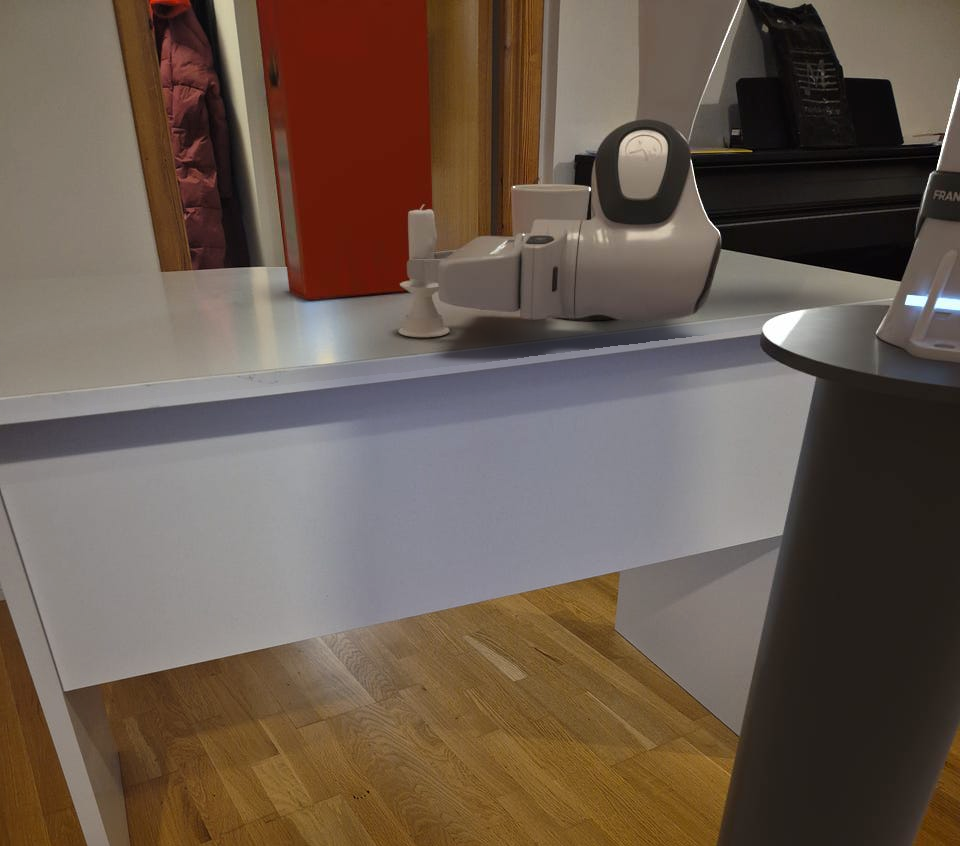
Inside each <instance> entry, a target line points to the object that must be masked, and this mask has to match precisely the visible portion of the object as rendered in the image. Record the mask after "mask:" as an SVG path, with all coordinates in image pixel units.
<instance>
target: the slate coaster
mask: <svg viewBox="0 0 960 846" xmlns="http://www.w3.org/2000/svg"><path fill="white" fill-rule="evenodd" d="M554 318H555V319H560V320H567V321H568V320H569V321H581V322H596V321H608V320H614V319H615V318H612V317H609V316H605V315H591V316H587V317H583V318H560V317H554Z"/></svg>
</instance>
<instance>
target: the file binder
mask: <svg viewBox="0 0 960 846" xmlns="http://www.w3.org/2000/svg"><path fill="white" fill-rule="evenodd" d="M255 3H256V12H257V20H258V29H259V38H260V47H261V55H262V64H263V65H262V66H263V73H264V81H265V82H264V83H265V90H266V99H267V100H266V101H267V108H268V117H269V125H270V135H271V144H272V152H273V161H274V169H275V178H276V186H277V195H278V203H279V212H280V220H281V230H282V231H281V232H282V238H283V245H284V246H283V247H284V255H285V263H286V273H287V283H288V290H289V292H290V293H292V294H294V295H296V296H298V297H300V298H302V299H304V300H306V301H312V300H323V299H334V298H335V299H336V298H346V297H358V296H369V295H380V294H390V293H399V292H401V293H402V292H408V291H407V290H406V289H405V288H403V287H401V286H400V283H402V282H405V281H410V278H409V277H408V275H407V262H408V260H409V236H408V213H409V211H414V210H420V208H421V207H422V205H424V204H425V205H424V206H423V208H422V210H428V209H431V210H432V211H433V210H434V208H433V206H434V205H433V175H432V173H433V170H432V141H431V140H432V139H431V138H432V137H431V110H430V109H431V105H430V103H431V101H430V74H429V73H430V71H429V69H430V68H429V42H428V41H429V40H428V39H429V38H428V37H429V36H428V35H429V34H428V7H427V0H255ZM433 212H434V211H433Z"/></svg>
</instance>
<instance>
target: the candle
mask: <svg viewBox="0 0 960 846" xmlns="http://www.w3.org/2000/svg"><path fill="white" fill-rule="evenodd" d="M424 205H425V204H424ZM424 205H422V207H421V208H420V210H414V211H409V213H408V236H409V260H410V259H412V258H427V259H435V256H434V252H435V249H436V248H435V247H436V244H437V240H438V236H437V230H436V222H435V221H436V220H435V213H434V211H432V210H431V209H428V210H422V208H423V206H424ZM400 286H401V287H403V288H405V289H406V290H407V291H406V292H408V293H410V294H412V295H413V296H414V298H413V303H412V305H411V308H410V311H409V313H408V314H407V315H405V317H404V318H405V319H404V324H403V326H402V327H399V329H398V333H399V334H400V335H402V336H405V337H410V338H436V337H442V336H445V335H447V334H450V329H449V328H448V327H447V326H445V324H444V320H443V316H442V315H441V314H440V313H439V312H438V310H437V308H436V306H435V303H434V300H433V295H435V294H436V293H437V292H439V287H438V283H435V282H431V281H428V280H423V279H410V281H405V282H402V283H400Z"/></svg>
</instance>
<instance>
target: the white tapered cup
mask: <svg viewBox="0 0 960 846" xmlns="http://www.w3.org/2000/svg"><path fill="white" fill-rule="evenodd" d="M509 189H510V196H511V197H510V199H511V226H512V227H511V228H512V232H511V233H512V237H515V236H516V235H517V234H518V233H524V234H526V233H528V234H530V232H531V229H532V225H533V222H534V220H536V219H545V220H582V221H583V220H588V211H589V202H590V194H591V191H592V188H591V186H589V185H581V184H580V185H579V184H561V183H560V184H559V183H558V184H557V183H549V184H548V183H538V184H536V183H535V184H518V185H517V184H516V185H511V187H510V188H509Z"/></svg>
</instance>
